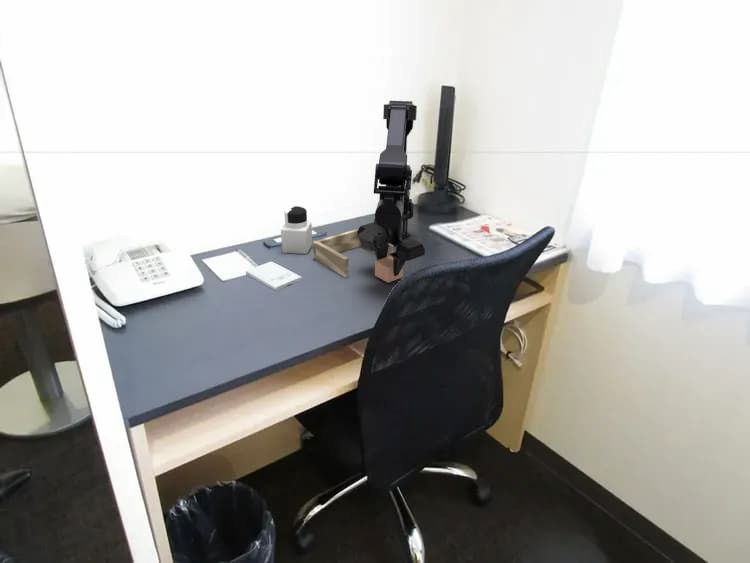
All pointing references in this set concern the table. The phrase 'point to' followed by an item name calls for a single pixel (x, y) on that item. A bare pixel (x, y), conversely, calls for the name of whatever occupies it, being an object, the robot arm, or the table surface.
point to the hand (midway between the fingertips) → (388, 271)
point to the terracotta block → (386, 269)
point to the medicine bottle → (296, 231)
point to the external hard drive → (273, 275)
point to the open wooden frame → (338, 251)
